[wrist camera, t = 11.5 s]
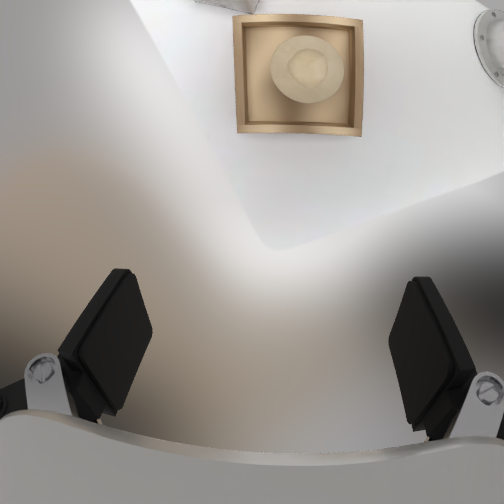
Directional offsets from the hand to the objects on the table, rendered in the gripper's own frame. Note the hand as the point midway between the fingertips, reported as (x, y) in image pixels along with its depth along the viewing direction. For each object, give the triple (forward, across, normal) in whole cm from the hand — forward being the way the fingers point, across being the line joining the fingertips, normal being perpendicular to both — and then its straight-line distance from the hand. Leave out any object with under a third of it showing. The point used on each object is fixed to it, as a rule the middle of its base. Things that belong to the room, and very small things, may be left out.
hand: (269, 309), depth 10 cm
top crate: (+25, -2, -8) cm, 27 cm away
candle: (+25, -2, -8) cm, 26 cm away
